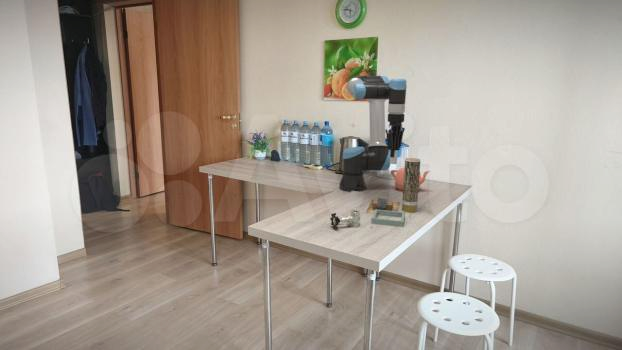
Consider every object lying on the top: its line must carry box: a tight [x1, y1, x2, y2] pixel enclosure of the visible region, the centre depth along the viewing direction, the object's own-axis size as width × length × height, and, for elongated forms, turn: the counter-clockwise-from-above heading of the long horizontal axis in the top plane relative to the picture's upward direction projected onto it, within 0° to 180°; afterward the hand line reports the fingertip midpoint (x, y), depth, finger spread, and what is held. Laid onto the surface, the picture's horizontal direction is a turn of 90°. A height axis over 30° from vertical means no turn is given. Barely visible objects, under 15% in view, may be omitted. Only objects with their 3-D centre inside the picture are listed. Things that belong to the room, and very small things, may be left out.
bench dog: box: [376, 198, 388, 210], centre depth 183 cm, size 4×3×6 cm
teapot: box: [390, 167, 431, 192], centre depth 224 cm, size 17×16×13 cm
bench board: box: [365, 199, 401, 215], centre depth 191 cm, size 14×22×1 cm, turn 164°
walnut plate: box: [372, 199, 394, 211], centre depth 189 cm, size 9×7×3 cm
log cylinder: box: [401, 157, 421, 214], centre depth 184 cm, size 7×7×25 cm
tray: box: [370, 209, 406, 228], centre depth 173 cm, size 13×13×3 cm
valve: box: [330, 209, 361, 229], centre depth 166 cm, size 7×7×12 cm
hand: (393, 163), depth 189 cm, fingers closed
